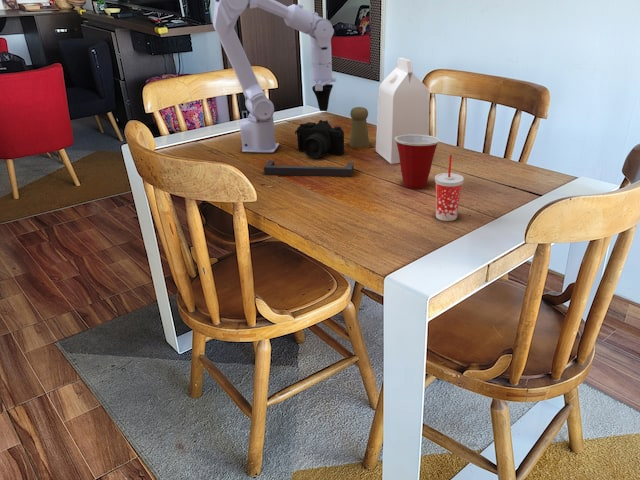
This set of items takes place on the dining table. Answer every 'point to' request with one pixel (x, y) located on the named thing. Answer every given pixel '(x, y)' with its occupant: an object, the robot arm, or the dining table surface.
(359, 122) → the cork
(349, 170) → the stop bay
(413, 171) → the plastic cup
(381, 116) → the milk
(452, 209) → the beverage cup
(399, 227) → the dining table surface
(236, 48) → the robot arm
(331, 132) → the film camera
